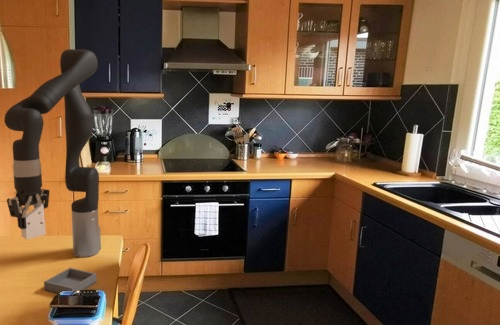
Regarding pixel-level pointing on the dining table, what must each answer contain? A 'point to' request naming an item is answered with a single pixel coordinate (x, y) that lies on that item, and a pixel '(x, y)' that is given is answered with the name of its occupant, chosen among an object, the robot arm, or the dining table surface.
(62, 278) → the gray square tray
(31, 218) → the white angled block
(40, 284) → the dining table surface
